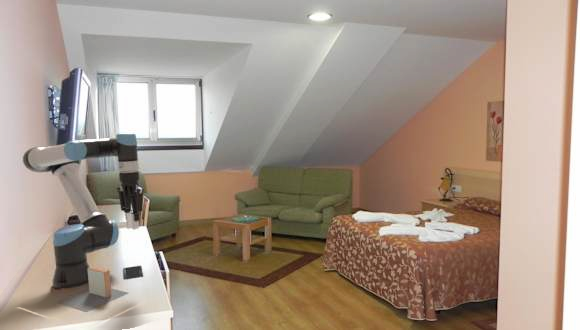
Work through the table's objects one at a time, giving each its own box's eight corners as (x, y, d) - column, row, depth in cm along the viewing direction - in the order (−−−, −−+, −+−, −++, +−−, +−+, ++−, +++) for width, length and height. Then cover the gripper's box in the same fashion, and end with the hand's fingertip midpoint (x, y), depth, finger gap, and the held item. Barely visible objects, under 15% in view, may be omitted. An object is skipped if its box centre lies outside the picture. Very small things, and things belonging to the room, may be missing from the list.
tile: (89, 293, 164) (86, 268, 163) (94, 291, 166) (92, 266, 165) (106, 298, 159) (103, 272, 158) (111, 295, 161) (109, 270, 160)
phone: (123, 279, 177) (123, 268, 191) (123, 282, 177) (123, 270, 191) (143, 276, 180) (141, 265, 194) (143, 278, 180) (141, 267, 194)
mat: (55, 303, 157) (55, 302, 157) (99, 286, 172) (98, 284, 172) (86, 313, 148) (86, 312, 148) (129, 294, 163) (129, 292, 163)
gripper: (108, 171, 172) (112, 228, 175) (134, 173, 164) (138, 232, 167) (123, 169, 178) (127, 224, 181) (149, 170, 171) (153, 228, 173)
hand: (133, 228), depth 174 cm, fingers open, 3 cm apart
